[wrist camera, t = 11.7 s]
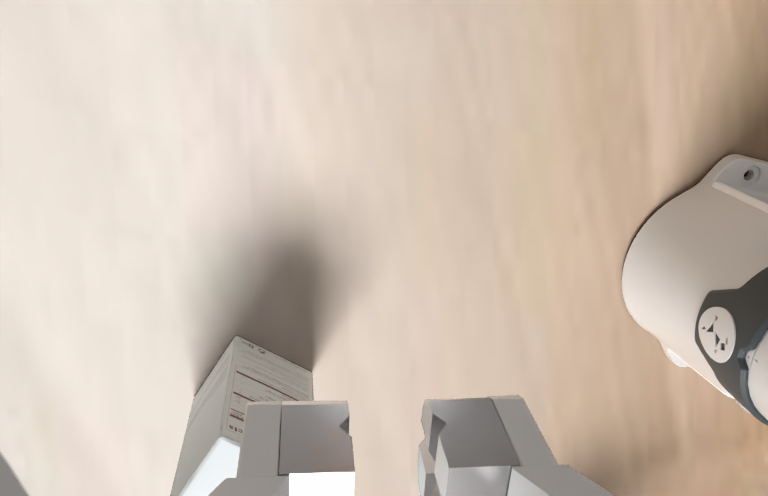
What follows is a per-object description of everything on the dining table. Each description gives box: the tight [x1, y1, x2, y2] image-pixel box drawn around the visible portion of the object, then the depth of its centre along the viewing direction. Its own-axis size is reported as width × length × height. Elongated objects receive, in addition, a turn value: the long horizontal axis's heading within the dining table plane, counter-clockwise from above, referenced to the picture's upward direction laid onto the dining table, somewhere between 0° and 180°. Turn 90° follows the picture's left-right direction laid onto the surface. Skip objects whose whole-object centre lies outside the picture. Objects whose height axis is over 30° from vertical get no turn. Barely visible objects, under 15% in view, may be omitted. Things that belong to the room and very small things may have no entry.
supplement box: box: [170, 336, 314, 496], centre depth 47 cm, size 7×7×13 cm
